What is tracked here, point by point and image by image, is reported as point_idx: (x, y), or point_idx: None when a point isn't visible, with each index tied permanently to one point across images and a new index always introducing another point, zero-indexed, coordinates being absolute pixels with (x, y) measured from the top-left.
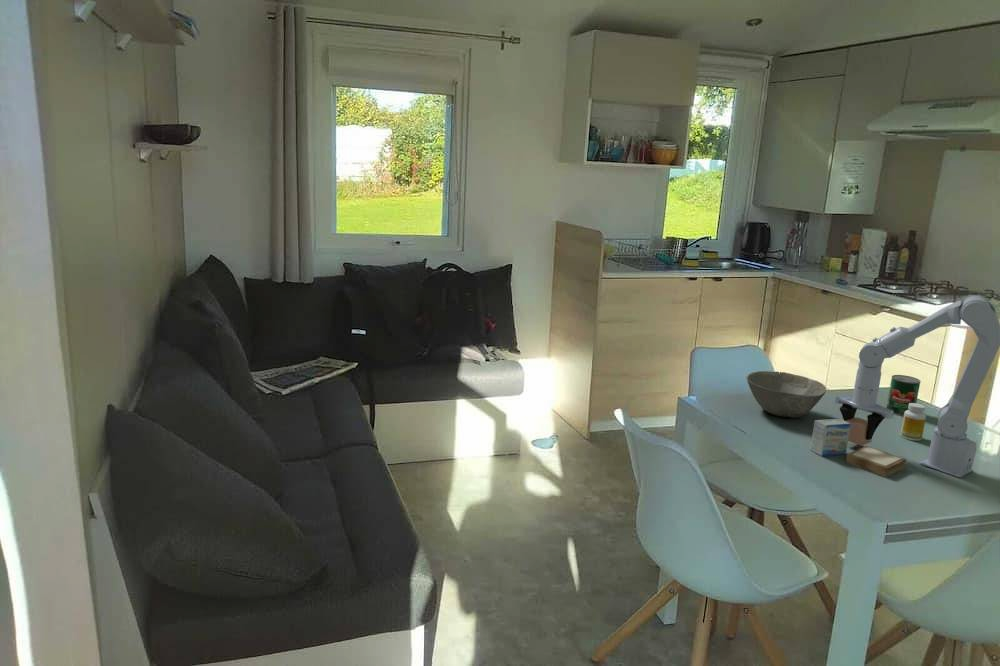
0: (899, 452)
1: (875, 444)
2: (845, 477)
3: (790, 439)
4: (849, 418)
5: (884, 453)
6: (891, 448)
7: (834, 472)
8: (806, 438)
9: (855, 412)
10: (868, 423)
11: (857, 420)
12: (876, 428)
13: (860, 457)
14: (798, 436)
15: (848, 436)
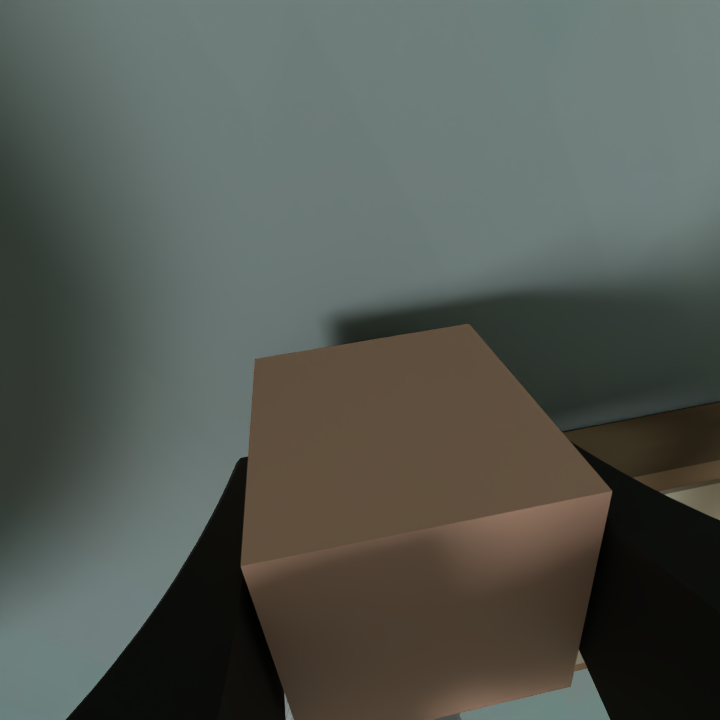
0: (678, 88)
1: (417, 127)
2: (561, 707)
3: (63, 693)
4: (277, 716)
5: (685, 502)
6: (582, 53)
7: (507, 716)
8: (67, 606)
9: (228, 706)
10: (623, 715)
11: (380, 649)
12: (631, 483)
13: (582, 659)
14: (12, 630)
15: (459, 715)
